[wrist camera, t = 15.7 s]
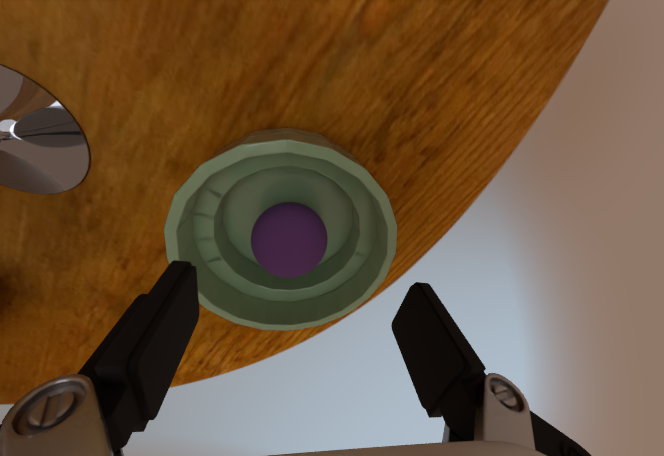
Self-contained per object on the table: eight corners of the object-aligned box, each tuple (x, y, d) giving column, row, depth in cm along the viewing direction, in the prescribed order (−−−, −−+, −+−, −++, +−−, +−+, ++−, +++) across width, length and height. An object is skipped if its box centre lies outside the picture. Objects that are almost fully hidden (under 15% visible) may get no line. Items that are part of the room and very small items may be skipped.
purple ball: (329, 196, 17) (340, 231, 13) (316, 252, 20) (322, 296, 15) (259, 185, 16) (246, 219, 12) (254, 245, 19) (241, 291, 14)
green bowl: (396, 149, 17) (431, 169, 13) (349, 287, 23) (362, 332, 19) (193, 104, 14) (147, 110, 9) (201, 277, 20) (175, 328, 16)
